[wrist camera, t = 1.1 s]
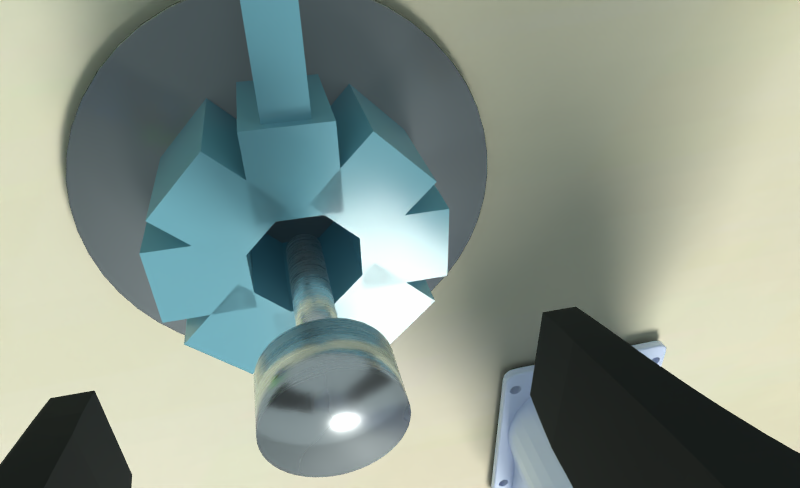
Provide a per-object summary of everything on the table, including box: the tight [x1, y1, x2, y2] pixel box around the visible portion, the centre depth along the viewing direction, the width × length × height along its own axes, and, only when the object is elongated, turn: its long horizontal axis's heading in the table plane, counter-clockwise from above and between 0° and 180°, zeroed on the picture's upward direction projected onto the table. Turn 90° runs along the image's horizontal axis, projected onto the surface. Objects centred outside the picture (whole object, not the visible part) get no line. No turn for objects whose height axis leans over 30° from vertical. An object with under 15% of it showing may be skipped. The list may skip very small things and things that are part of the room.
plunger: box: [254, 234, 411, 477], centre depth 14 cm, size 3×3×6 cm
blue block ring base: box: [66, 0, 487, 374], centre depth 17 cm, size 13×13×4 cm
